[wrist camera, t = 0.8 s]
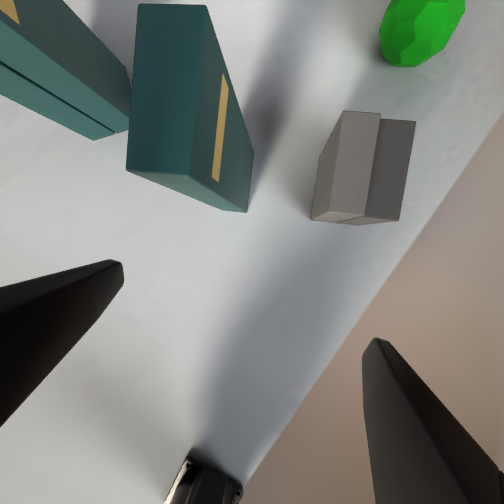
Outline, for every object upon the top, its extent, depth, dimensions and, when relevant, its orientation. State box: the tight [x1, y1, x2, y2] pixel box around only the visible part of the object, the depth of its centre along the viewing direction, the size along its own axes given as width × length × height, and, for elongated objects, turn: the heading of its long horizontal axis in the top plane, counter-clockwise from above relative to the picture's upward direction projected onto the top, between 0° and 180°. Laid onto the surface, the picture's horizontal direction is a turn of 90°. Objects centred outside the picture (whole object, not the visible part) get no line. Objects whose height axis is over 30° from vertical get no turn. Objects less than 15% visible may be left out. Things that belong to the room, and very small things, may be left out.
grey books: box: [311, 111, 416, 226], centre depth 17 cm, size 6×4×8 cm
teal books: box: [0, 0, 131, 140], centre depth 16 cm, size 6×5×14 cm
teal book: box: [126, 4, 254, 213], centre depth 15 cm, size 6×2×14 cm, turn 173°
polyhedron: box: [379, 0, 465, 67], centre depth 17 cm, size 5×5×5 cm
